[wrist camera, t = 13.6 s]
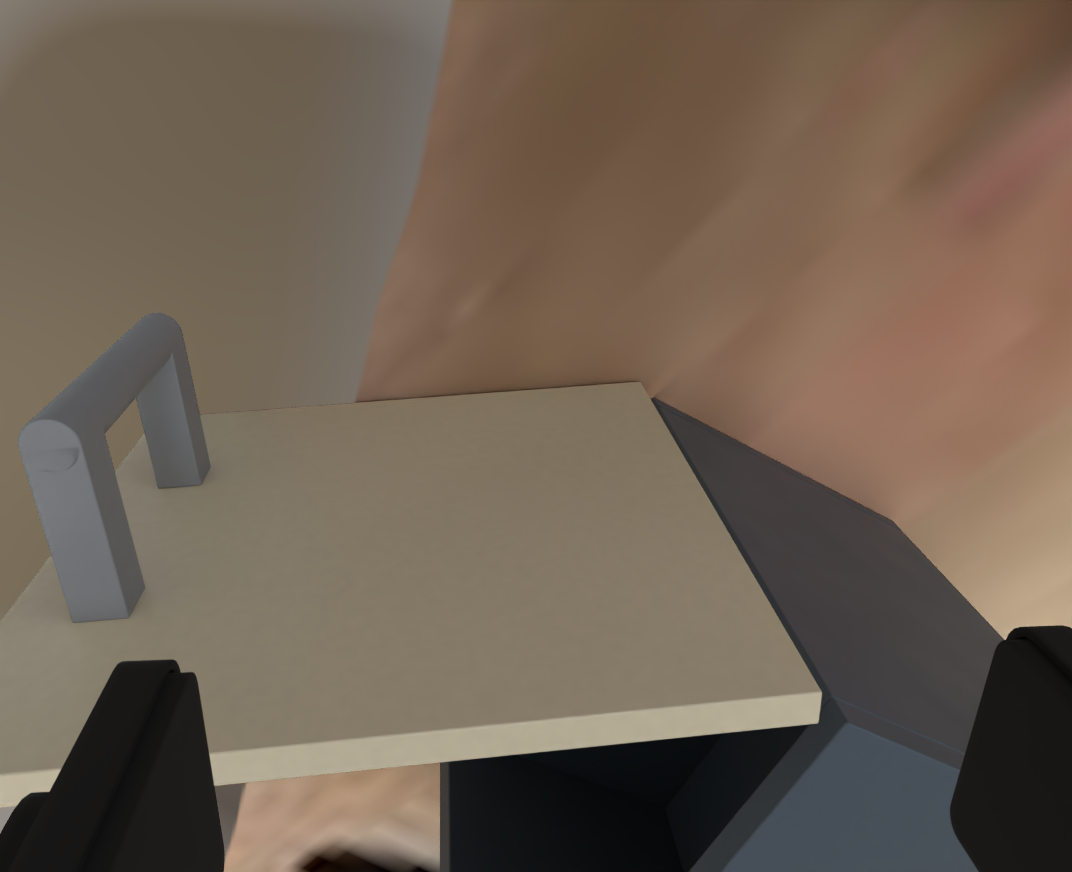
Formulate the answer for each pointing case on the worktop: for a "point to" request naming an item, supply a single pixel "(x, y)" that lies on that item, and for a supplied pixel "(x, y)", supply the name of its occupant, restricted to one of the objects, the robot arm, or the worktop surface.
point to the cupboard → (776, 753)
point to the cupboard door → (382, 577)
